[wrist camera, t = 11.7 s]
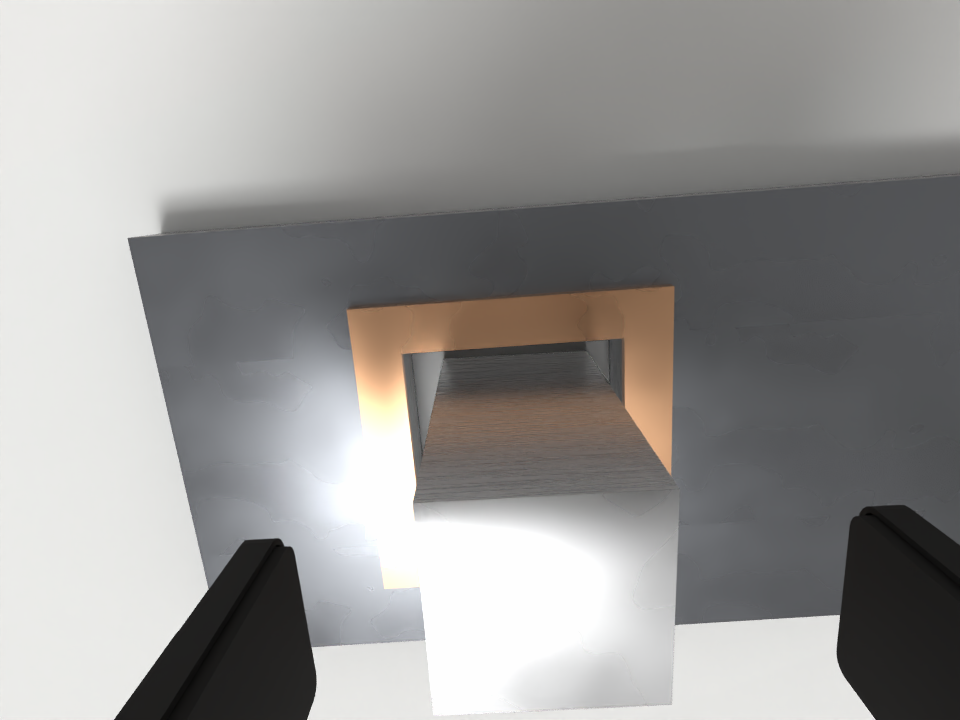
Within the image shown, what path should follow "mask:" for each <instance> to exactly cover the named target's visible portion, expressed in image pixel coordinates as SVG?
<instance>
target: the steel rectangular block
mask: <svg viewBox="0 0 960 720" xmlns="http://www.w3.org/2000/svg"><path fill="white" fill-rule="evenodd" d="M679 501H680V489H679V487H678V486H677V484H676V483H675V481H674V480H673V478H672V477H671V475H670V474H669V472H668V471H667V469H666V468H665V466H664V465H663V463H662V462H661V460H660V459H659V457H658V456H657V455H656V453H655V452H654V450H653V449H652V447H651V446H650V444H649V443H648V441H647V440H646V438H645V437H644V435H643V434H642V432H641V431H640V429H639V428H638V426H637V425H636V423H635V422H634V420H633V419H632V417H631V416H630V414H629V413H628V412H627V410H626V409H625V407H624V406H623V404H622V403H621V401H620V400H619V398H618V397H617V395H616V394H615V392H614V391H613V389H612V388H611V386H610V385H609V383H608V382H607V380H606V379H605V377H604V376H603V374H602V373H601V371H600V370H599V368H598V367H597V366H596V364H595V363H594V361H593V360H592V358H591V357H590V355H589V354H588V352H587V351H573V352H555V353H537V354H519V355H501V356H483V357H465V358H447V359H443V363H442V368H441V372H440V377H439V382H438V386H437V391H436V396H435V400H434V405H433V410H432V414H431V419H430V424H429V428H428V433H427V438H426V442H425V447H424V452H423V456H422V461H421V466H420V470H419V475H418V480H417V484H416V489H415V494H414V498H413V503H412V504H413V514H414V524H415V534H416V545H417V555H418V565H419V575H420V585H421V595H422V605H423V616H424V626H425V636H426V646H427V656H428V666H429V676H430V686H431V697H432V707H433V716H439V715H460V714H481V713H503V712H524V711H545V710H567V709H588V708H609V707H631V706H652V705H672V683H673V657H674V631H675V605H676V579H677V553H678V527H679Z"/></svg>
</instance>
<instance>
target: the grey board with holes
mask: <svg viewBox="0 0 960 720" xmlns="http://www.w3.org/2000/svg"><path fill="white" fill-rule="evenodd" d="M128 242H129V246H130V251H131V255H132V259H133V264H134V268H135V272H136V277H137V281H138V285H139V290H140V294H141V298H142V302H143V307H144V311H145V315H146V320H147V324H148V328H149V333H150V337H151V341H152V346H153V350H154V354H155V359H156V363H157V367H158V372H159V376H160V380H161V385H162V389H163V393H164V398H165V402H166V406H167V411H168V415H169V419H170V424H171V428H172V432H173V437H174V441H175V445H176V449H177V454H178V458H179V462H180V467H181V471H182V475H183V480H184V484H185V488H186V493H187V497H188V501H189V506H190V510H191V514H192V519H193V523H194V527H195V532H196V536H197V540H198V545H199V549H200V553H201V558H202V562H203V566H204V571H205V575H206V579H207V584H208V588H210V587H211V586H212V584H213V583H214V581H215V580H216V579H217V577H218V576H219V574H220V573H221V572H222V570H223V569H224V568H225V566H226V565H227V563H228V562H229V561H230V559H231V558H232V556H233V555H234V554H235V552H236V551H237V549H238V548H239V547H240V545H241V544H242V543H243V542H244V541H245V540H253V539H271V538H279V539H281V540H282V542H283V544H284V546H291V547H292V548H293V550H294V553H295V558H296V563H297V569H298V575H299V580H300V586H301V591H302V597H303V603H304V608H305V614H306V620H307V625H308V631H309V637H310V642H311V647H320V646H337V645H353V644H370V643H386V642H402V641H419V640H426V636H425V626H424V616H423V605H422V595H421V585H420V575H419V565H418V555H417V545H416V534H415V524H414V514H413V504H412V503H413V498H414V494H415V489H416V484H417V480H418V475H419V470H420V466H421V461H422V448H421V438H420V429H419V420H418V411H417V401H416V392H415V383H414V374H413V364H412V355H411V353H423V352H437V351H452V350H466V349H480V348H494V347H509V346H523V345H537V344H551V343H565V342H580V341H594V340H608V339H609V358H610V386H611V388H612V389H613V391H614V392H615V394H616V395H617V397H618V398H619V400H620V401H621V403H622V404H623V406H624V407H625V409H626V410H627V412H628V413H629V414H630V416H631V417H632V419H633V420H634V422H635V423H636V425H637V426H638V428H639V429H640V431H641V432H642V434H643V435H644V437H645V438H646V440H647V441H648V443H649V444H650V446H651V447H652V449H653V450H654V452H655V453H656V455H657V456H658V457H659V459H660V460H661V462H662V463H663V465H664V466H665V468H666V469H667V471H668V472H669V474H670V475H671V477H672V478H673V480H674V481H675V483H676V484H677V486H678V487H679V489H680V501H679V527H678V553H677V579H676V605H675V625H680V624H697V623H713V622H730V621H746V620H762V619H779V618H795V617H811V616H828V615H840V613H841V603H842V594H843V584H844V575H845V565H846V556H847V546H848V537H849V527H850V522H851V520H852V518H853V517H855V516H859V513H860V512H861V510H862V509H863V508H865V507H866V506H885V505H905V506H907V507H909V508H911V509H912V510H913V511H915V512H916V513H917V514H919V515H920V516H922V517H923V518H924V519H926V520H927V521H928V522H930V523H931V524H932V525H934V526H935V527H936V528H938V529H939V530H940V531H942V532H943V533H944V534H946V535H947V536H948V537H950V538H951V539H952V540H954V541H955V542H956V543H958V544H959V545H960V174H952V175H939V176H925V177H912V178H898V179H885V180H872V181H858V182H845V183H832V184H818V185H805V186H792V187H778V188H765V189H752V190H738V191H725V192H711V193H698V194H685V195H671V196H658V197H645V198H631V199H618V200H605V201H591V202H578V203H564V204H551V205H538V206H524V207H511V208H498V209H484V210H471V211H458V212H444V213H431V214H418V215H404V216H391V217H377V218H364V219H351V220H337V221H324V222H311V223H297V224H284V225H271V226H257V227H244V228H230V229H217V230H204V231H190V232H177V233H164V234H155V235H147V236H140V237H132V238H128Z"/></svg>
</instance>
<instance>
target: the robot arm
mask: <svg viewBox="0 0 960 720" xmlns="http://www.w3.org/2000/svg"><path fill="white" fill-rule="evenodd" d="M837 660H838V663H839V667H840V669H841V671H842V673H843V675H844V677H845V678H846V680H847V681H848V682H849V684H850V685H851V687H852V688H853V689H854V691H855V692H856V693H857V695H858V696H859V697H860V699H861V700H862V702H863V703H864V704H865V706H866V707H867V708H868V710H869V711H870V712H871V714H872V715H873V717H874V718H875V719H876V720H960V545H959V544H958V543H956V542H955V541H954V540H952V539H951V538H950V537H948V536H947V535H946V534H944V533H943V532H942V531H940V530H939V529H938V528H936V527H935V526H934V525H932V524H931V523H930V522H928V521H927V520H926V519H924V518H923V517H922V516H920V515H919V514H917V513H916V512H915V511H913V510H912V509H911V508H909V507H907V506H905V505H885V506H866V507H865V508H863V509H862V510H861V512H860V513H859V516H855V517H853V518H852V520H851V522H850V527H849V537H848V546H847V556H846V565H845V575H844V584H843V594H842V603H841V613H840V622H839V632H838V642H837ZM315 692H316V670H315V665H314V659H313V653H312V648H311V642H310V637H309V631H308V625H307V620H306V614H305V608H304V603H303V597H302V591H301V586H300V580H299V575H298V569H297V563H296V558H295V553H294V550H293V548H292V547H291V546H284V544H283V542H282V540H281V539H279V538H271V539H253V540H245V541H244V542H243V543H242V544H241V545H240V547H239V548H238V549H237V551H236V552H235V554H234V555H233V556H232V558H231V559H230V561H229V562H228V563H227V565H226V566H225V568H224V569H223V570H222V572H221V573H220V574H219V576H218V577H217V579H216V580H215V581H214V583H213V584H212V586H211V587H210V588H209V590H208V591H207V593H206V594H205V595H204V597H203V598H202V599H201V601H200V602H199V604H198V605H197V606H196V608H195V609H194V611H193V612H192V613H191V615H190V616H189V618H188V619H187V620H186V622H185V623H184V625H183V626H182V627H181V629H180V630H179V631H178V632H177V633H176V635H175V636H174V637H173V639H172V640H171V641H170V643H169V644H168V646H167V647H166V648H165V650H164V651H163V653H162V654H161V655H160V657H159V658H158V659H157V661H156V662H155V664H154V665H153V666H152V668H151V669H150V671H149V672H148V673H147V675H146V676H145V678H144V679H143V680H142V682H141V683H140V684H139V686H138V687H137V689H136V690H135V691H134V693H133V694H132V696H131V697H130V698H129V700H128V701H127V702H126V704H125V705H124V707H123V708H122V709H121V711H120V712H119V714H118V715H117V716H116V718H115V719H114V720H307V718H308V715H309V712H310V709H311V706H312V704H313V701H314V697H315Z"/></svg>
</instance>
